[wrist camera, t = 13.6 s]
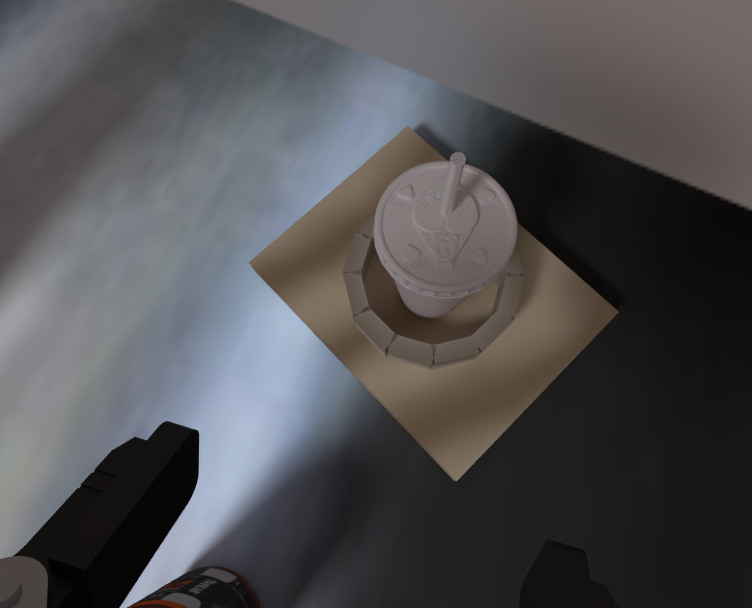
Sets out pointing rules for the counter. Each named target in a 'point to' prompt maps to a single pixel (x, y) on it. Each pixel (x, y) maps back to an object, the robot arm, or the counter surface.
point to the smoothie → (444, 234)
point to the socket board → (431, 335)
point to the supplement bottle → (203, 591)
